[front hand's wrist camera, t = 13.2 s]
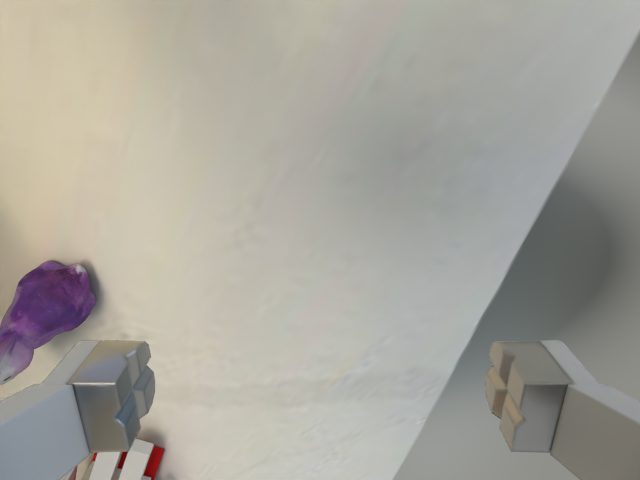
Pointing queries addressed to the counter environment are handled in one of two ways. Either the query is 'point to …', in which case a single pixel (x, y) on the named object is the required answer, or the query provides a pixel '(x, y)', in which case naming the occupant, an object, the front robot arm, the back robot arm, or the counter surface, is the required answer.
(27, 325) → the figurine
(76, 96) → the counter surface
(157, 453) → the toy
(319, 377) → the counter surface
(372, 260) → the counter surface
